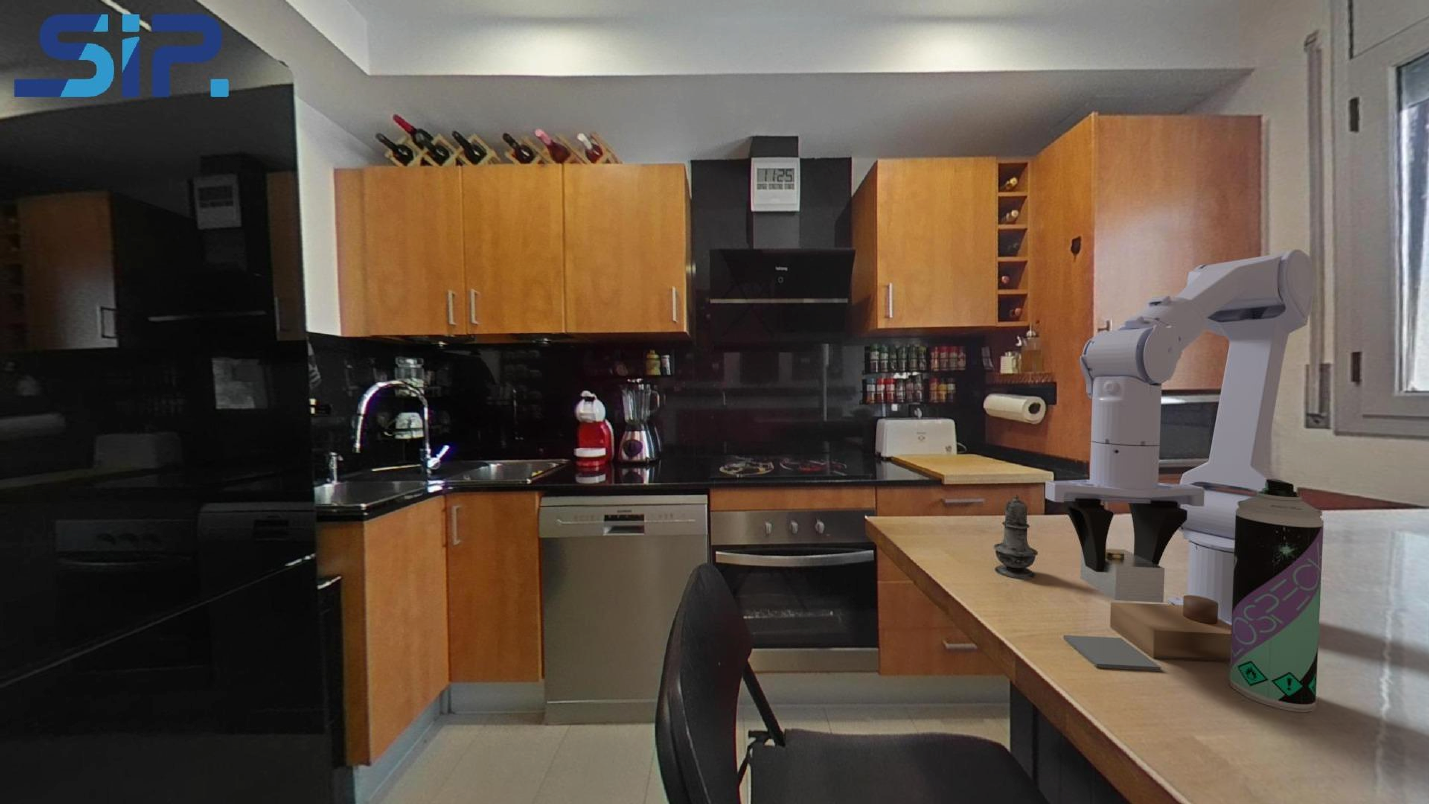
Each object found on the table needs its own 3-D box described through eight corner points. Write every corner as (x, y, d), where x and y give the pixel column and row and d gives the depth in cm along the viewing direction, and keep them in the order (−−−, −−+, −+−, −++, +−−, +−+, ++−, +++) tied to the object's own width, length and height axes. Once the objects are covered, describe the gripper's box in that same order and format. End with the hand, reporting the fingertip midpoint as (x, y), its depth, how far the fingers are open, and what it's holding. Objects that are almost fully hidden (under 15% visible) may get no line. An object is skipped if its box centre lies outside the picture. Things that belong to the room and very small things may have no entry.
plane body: (1193, 630, 61) (1194, 588, 60) (1247, 663, 54) (1249, 615, 54) (1110, 627, 62) (1111, 585, 61) (1153, 658, 55) (1154, 611, 55)
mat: (1120, 641, 58) (1120, 637, 58) (1160, 670, 52) (1160, 667, 52) (1063, 638, 59) (1063, 635, 59) (1096, 667, 53) (1096, 663, 53)
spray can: (1213, 678, 51) (1220, 475, 50) (1263, 675, 51) (1271, 474, 51) (1278, 714, 46) (1287, 487, 45) (1334, 710, 46) (1344, 485, 45)
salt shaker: (1044, 581, 76) (1046, 499, 75) (1000, 578, 77) (1001, 497, 77) (1028, 567, 82) (1030, 491, 81) (987, 564, 83) (989, 489, 82)
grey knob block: (1123, 580, 58) (1124, 545, 58) (1163, 602, 52) (1164, 563, 52) (1080, 578, 59) (1081, 543, 59) (1115, 600, 53) (1116, 561, 53)
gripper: (1169, 440, 58) (1165, 560, 59) (1032, 437, 60) (1029, 554, 60) (1224, 447, 51) (1218, 584, 52) (1067, 445, 53) (1063, 577, 53)
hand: (1119, 570), depth 56 cm, fingers closed on grey knob block, 4 cm apart
